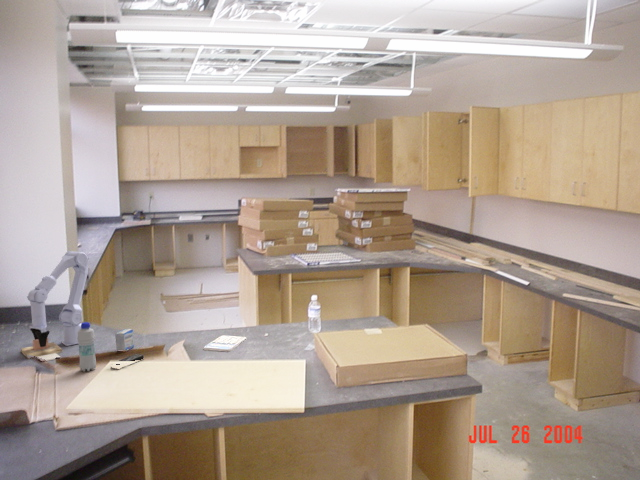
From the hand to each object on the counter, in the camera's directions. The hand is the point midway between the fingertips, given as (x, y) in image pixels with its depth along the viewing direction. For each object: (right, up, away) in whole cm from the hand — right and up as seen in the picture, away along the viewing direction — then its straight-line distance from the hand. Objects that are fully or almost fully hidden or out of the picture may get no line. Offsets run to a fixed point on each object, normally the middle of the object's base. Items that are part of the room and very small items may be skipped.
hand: (40, 344), depth 255 cm
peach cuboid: (0, -3, 0) cm, 3 cm away
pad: (+8, -4, -9) cm, 12 cm away
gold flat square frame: (0, -3, 0) cm, 3 cm away
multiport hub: (+46, -5, -18) cm, 49 cm away
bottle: (+32, -6, -25) cm, 41 cm away
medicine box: (+38, -3, +2) cm, 38 cm away
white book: (+83, -2, +7) cm, 83 cm away
